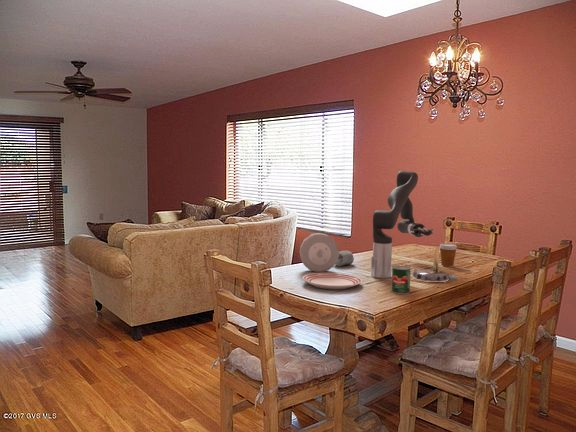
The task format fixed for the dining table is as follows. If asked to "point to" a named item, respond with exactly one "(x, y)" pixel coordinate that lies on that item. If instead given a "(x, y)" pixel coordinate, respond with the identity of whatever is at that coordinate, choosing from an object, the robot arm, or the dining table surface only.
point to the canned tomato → (401, 279)
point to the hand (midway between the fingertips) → (428, 233)
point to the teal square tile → (452, 277)
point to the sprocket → (434, 273)
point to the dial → (319, 259)
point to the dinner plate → (332, 280)
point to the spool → (344, 258)
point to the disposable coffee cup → (447, 254)
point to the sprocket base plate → (429, 280)
